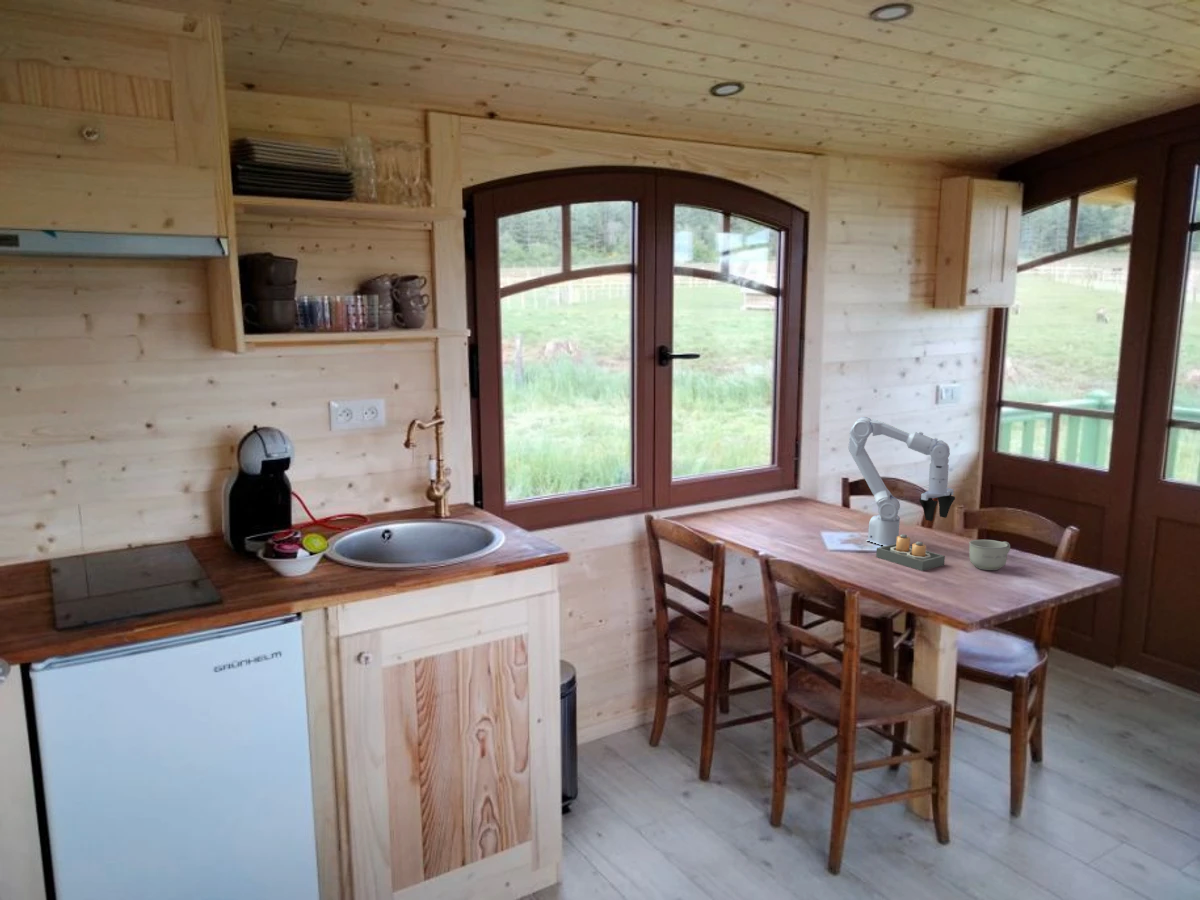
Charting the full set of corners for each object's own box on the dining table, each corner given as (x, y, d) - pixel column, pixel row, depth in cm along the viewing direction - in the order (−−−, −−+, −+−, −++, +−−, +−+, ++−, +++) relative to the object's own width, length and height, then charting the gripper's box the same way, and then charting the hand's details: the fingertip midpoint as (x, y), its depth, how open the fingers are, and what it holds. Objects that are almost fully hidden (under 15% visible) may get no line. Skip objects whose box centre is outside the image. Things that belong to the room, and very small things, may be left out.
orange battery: (892, 555, 264) (894, 534, 263) (900, 553, 266) (902, 532, 265) (903, 558, 261) (904, 537, 260) (911, 556, 263) (913, 535, 262)
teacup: (982, 574, 249) (984, 548, 248) (959, 563, 260) (961, 538, 258) (1022, 571, 252) (1025, 546, 251) (999, 561, 262) (1001, 536, 261)
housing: (876, 557, 266) (877, 536, 264) (898, 551, 272) (899, 531, 270) (922, 571, 252) (923, 549, 250) (944, 565, 258) (945, 544, 256)
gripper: (935, 482, 264) (933, 524, 266) (962, 477, 271) (960, 517, 274) (916, 479, 269) (914, 519, 272) (943, 474, 277) (941, 513, 279)
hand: (936, 518), depth 273 cm, fingers open, 7 cm apart
